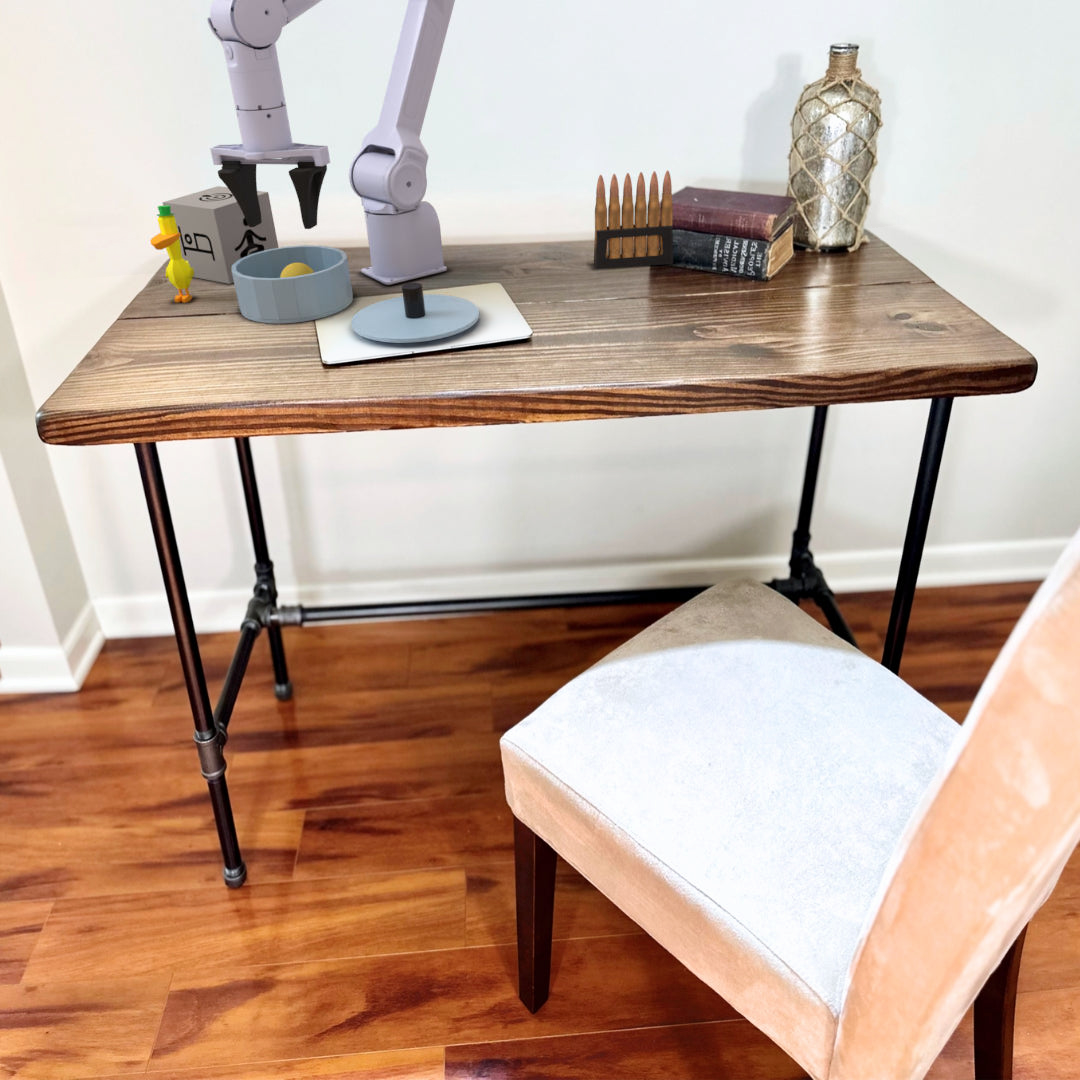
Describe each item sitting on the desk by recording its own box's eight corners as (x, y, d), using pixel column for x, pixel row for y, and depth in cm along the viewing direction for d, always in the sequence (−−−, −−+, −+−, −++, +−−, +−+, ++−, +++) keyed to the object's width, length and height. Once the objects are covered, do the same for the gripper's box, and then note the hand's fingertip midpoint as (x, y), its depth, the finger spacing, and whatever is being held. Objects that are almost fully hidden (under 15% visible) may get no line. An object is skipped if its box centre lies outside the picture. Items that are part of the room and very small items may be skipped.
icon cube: (180, 274, 138) (162, 202, 132) (233, 255, 145) (218, 186, 139) (229, 283, 133) (213, 209, 127) (281, 263, 140) (268, 192, 135)
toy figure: (183, 309, 125) (159, 214, 118) (157, 309, 125) (132, 214, 119) (207, 292, 130) (185, 200, 124) (182, 292, 131) (160, 200, 124)
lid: (438, 294, 125) (435, 258, 123) (504, 325, 115) (501, 286, 112) (331, 322, 118) (325, 284, 116) (390, 358, 107) (384, 317, 105)
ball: (306, 297, 127) (310, 261, 126) (320, 304, 124) (325, 268, 122) (272, 294, 124) (276, 257, 123) (286, 301, 121) (290, 263, 120)
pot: (324, 279, 133) (317, 238, 130) (372, 305, 123) (366, 262, 120) (224, 302, 126) (214, 260, 123) (266, 332, 116) (257, 287, 113)
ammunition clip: (670, 259, 133) (673, 168, 127) (673, 263, 132) (676, 171, 125) (593, 264, 133) (592, 173, 126) (595, 268, 131) (594, 176, 125)
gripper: (186, 112, 110) (213, 233, 118) (301, 112, 107) (321, 236, 114) (219, 102, 116) (243, 217, 123) (329, 101, 113) (347, 220, 120)
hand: (282, 226), depth 119 cm, fingers open, 7 cm apart
